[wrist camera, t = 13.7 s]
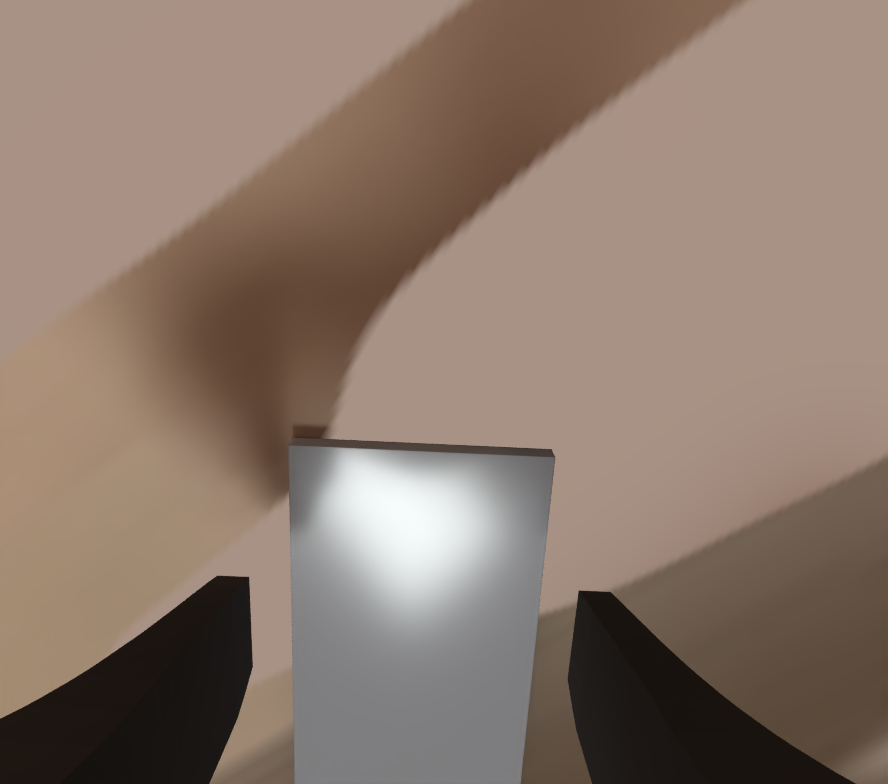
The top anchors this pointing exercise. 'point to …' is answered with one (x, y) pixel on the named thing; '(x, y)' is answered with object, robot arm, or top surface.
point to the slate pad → (414, 608)
